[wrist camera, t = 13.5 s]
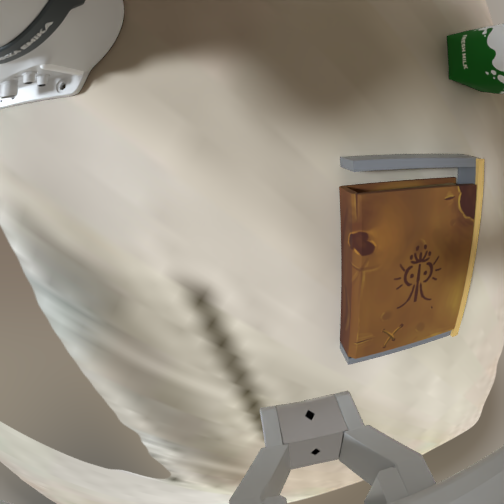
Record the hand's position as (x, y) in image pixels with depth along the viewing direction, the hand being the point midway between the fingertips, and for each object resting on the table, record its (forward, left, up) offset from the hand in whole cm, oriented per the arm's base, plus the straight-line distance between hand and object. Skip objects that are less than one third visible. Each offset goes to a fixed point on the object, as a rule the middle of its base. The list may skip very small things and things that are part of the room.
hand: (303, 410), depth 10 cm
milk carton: (+34, +18, -29) cm, 48 cm away
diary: (+21, -11, -30) cm, 38 cm away
